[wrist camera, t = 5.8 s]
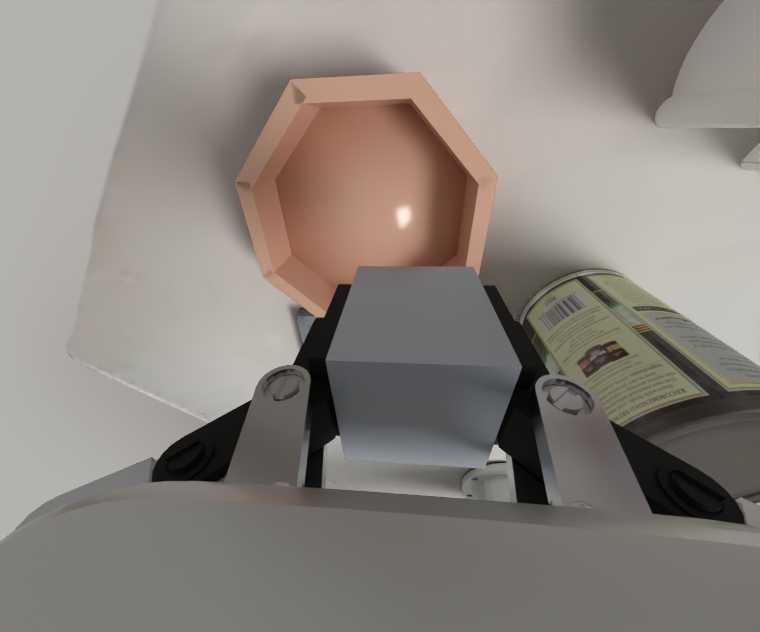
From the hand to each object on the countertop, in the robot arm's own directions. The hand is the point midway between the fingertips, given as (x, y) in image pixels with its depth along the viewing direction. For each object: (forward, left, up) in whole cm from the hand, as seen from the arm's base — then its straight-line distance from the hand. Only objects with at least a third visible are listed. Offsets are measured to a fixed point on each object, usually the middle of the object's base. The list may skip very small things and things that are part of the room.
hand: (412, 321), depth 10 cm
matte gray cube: (0, 0, 0) cm, 0 cm away
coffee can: (-9, -16, -14) cm, 23 cm away
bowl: (0, +3, -14) cm, 14 cm away
